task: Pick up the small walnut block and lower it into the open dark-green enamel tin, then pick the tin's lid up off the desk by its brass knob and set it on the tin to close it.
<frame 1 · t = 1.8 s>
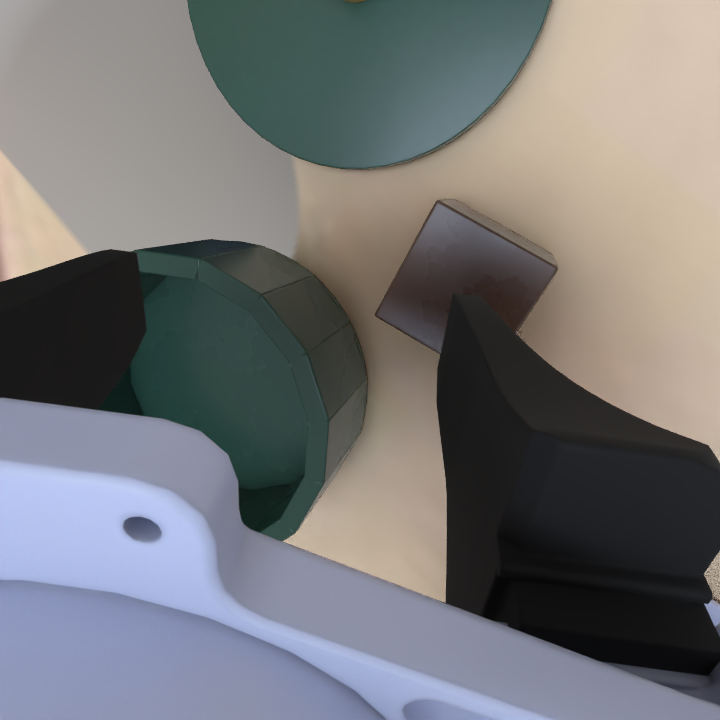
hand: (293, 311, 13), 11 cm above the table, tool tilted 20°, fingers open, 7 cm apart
tin: (237, 377, 27), on the table
block: (473, 275, 23), on the table
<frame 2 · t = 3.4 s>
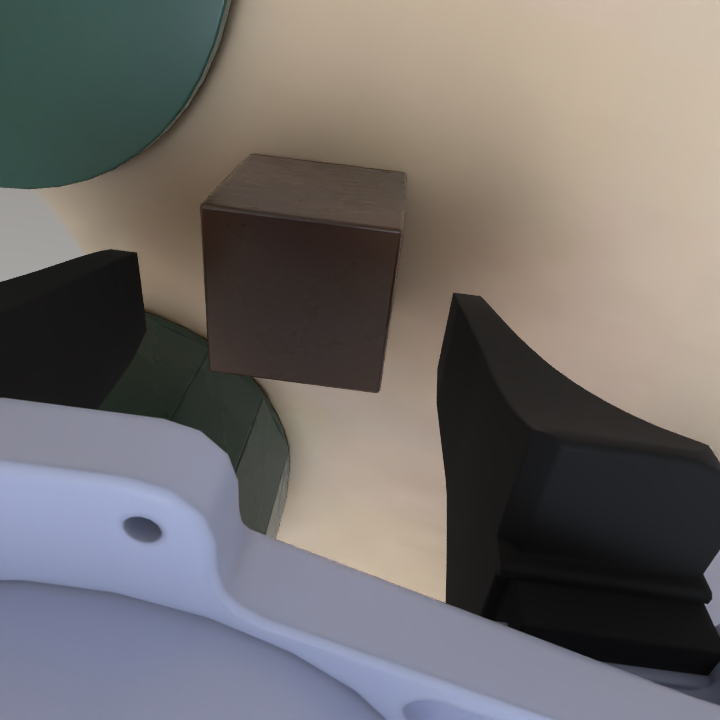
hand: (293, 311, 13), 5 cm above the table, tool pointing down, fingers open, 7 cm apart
tin: (129, 445, 23), on the table
block: (323, 237, 17), on the table
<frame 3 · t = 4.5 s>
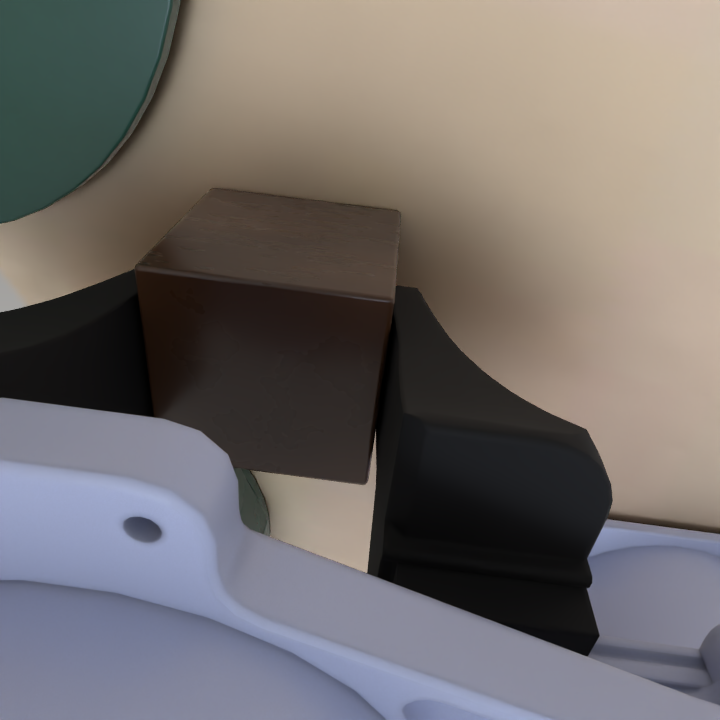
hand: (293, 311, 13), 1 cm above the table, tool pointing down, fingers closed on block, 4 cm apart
tin: (88, 508, 20), on the table
block: (301, 284, 14), on the table, touching gripper
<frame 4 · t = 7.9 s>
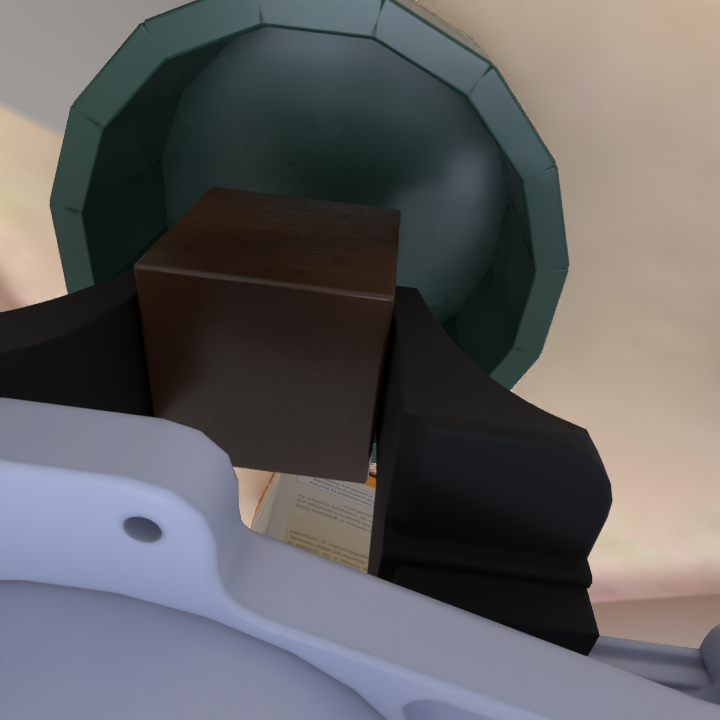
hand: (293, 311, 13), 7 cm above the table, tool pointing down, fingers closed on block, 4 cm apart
supplement box: (354, 503, 27), on the table
tin: (332, 208, 19), on the table
block: (301, 283, 14), point 6 cm above the table, touching gripper
when the fingers open (2 cm above the table, at t = 9.9 s): block stays where it is, resting on tin.
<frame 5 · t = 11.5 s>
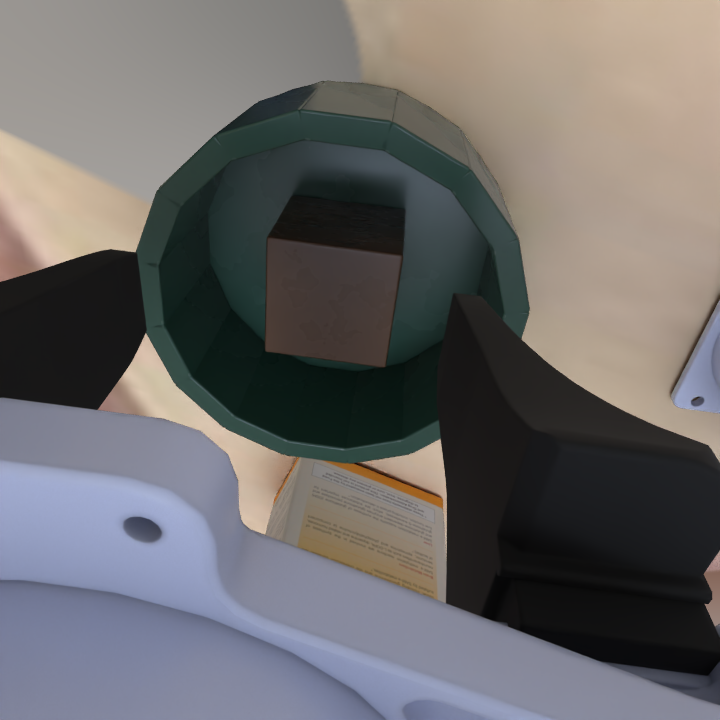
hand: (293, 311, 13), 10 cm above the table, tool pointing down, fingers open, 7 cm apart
supplement box: (359, 495, 31), on the table
tin: (346, 252, 24), on the table
block: (343, 254, 23), resting on tin
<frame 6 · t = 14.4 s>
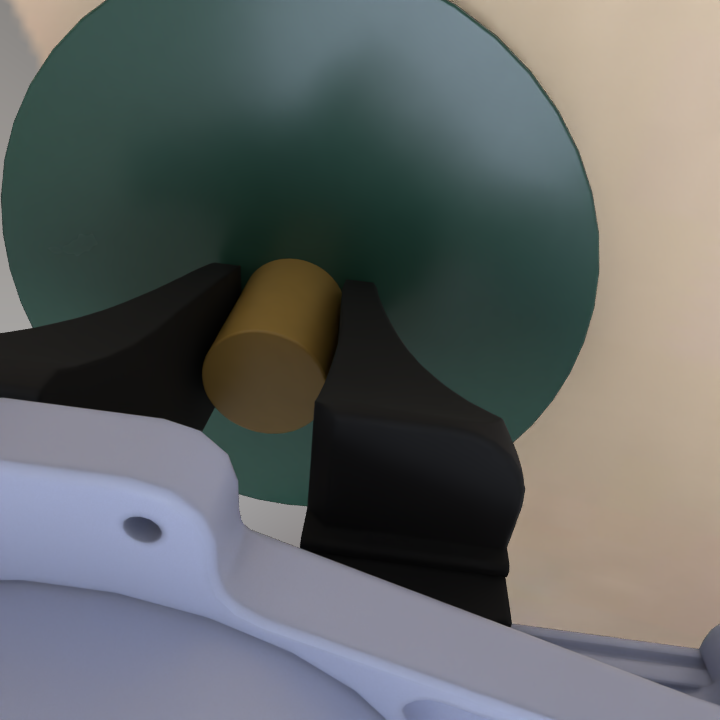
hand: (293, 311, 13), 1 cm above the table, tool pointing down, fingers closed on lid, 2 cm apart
lid: (298, 295, 14), point 1 cm above the table, touching gripper
when the fingers open (6 cm above the table, at t = 19.1 s): lid stays where it is, resting on tin.
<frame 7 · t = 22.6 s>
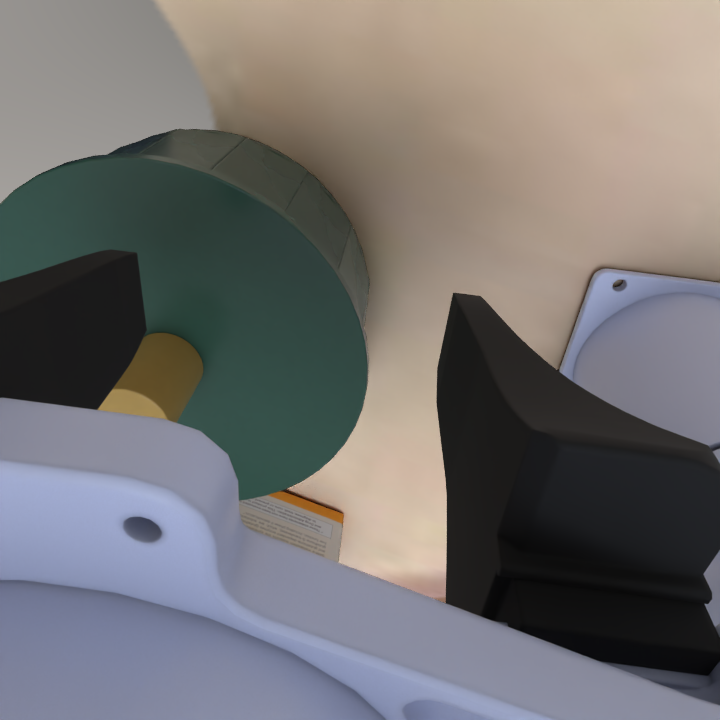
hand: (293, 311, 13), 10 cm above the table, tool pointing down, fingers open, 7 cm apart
supplement box: (266, 510, 33), on the table
lid: (174, 354, 20), point 6 cm above the table, touching tin
tin: (221, 284, 25), on the table
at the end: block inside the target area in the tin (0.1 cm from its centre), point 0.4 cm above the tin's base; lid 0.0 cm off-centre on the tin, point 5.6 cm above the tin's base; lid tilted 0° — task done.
